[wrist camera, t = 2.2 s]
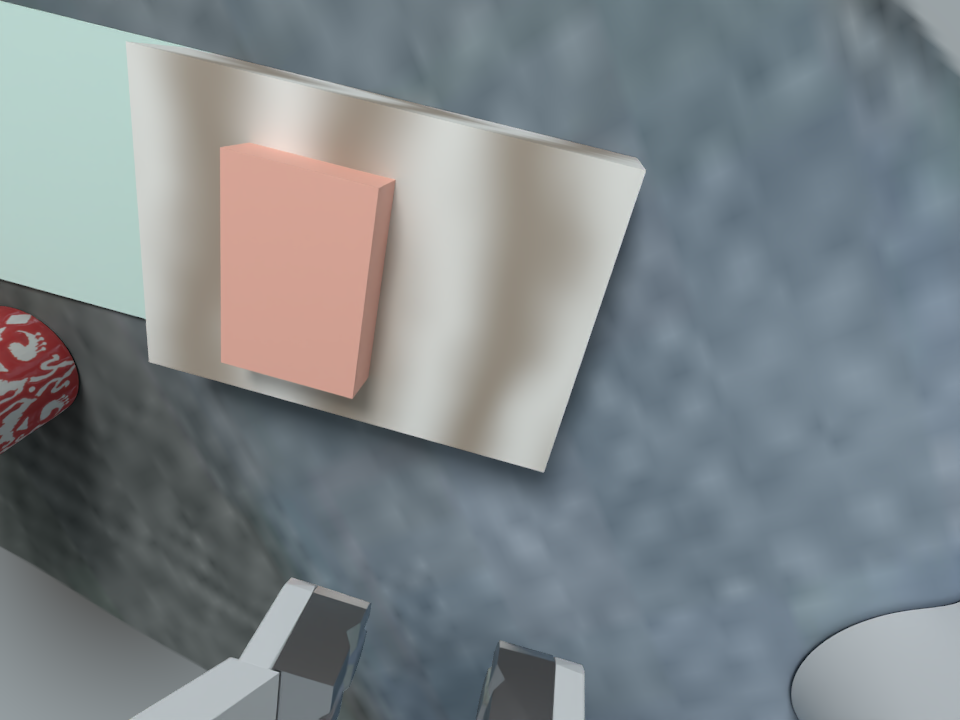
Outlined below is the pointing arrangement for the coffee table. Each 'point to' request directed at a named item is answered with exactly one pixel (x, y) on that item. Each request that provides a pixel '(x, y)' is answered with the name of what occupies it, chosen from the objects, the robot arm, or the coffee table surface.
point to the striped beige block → (391, 245)
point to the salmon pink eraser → (300, 266)
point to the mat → (68, 160)
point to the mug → (31, 376)
